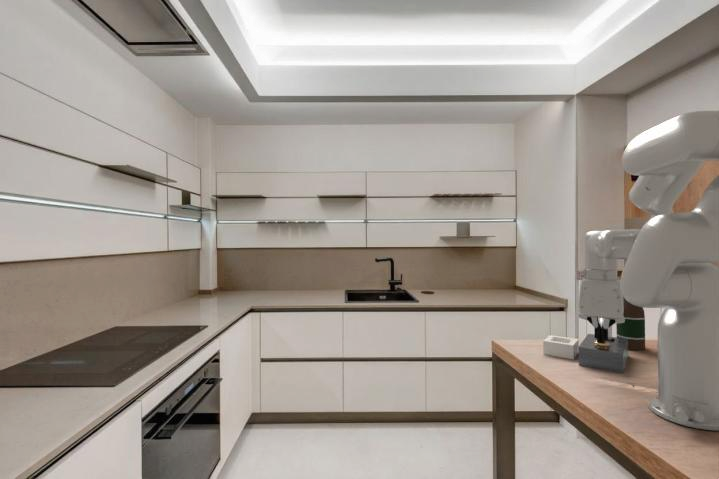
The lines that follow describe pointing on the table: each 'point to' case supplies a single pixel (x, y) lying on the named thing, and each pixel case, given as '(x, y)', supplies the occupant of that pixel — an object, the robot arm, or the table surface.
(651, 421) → the table surface
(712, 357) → the robot arm
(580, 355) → the socket block
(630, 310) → the beer bottle
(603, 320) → the silver rounded peg
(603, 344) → the key
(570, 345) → the holder
